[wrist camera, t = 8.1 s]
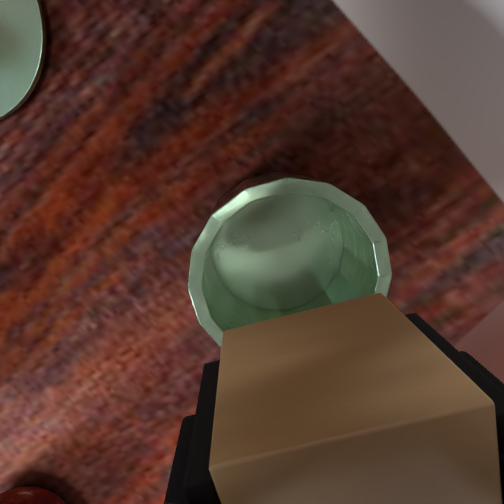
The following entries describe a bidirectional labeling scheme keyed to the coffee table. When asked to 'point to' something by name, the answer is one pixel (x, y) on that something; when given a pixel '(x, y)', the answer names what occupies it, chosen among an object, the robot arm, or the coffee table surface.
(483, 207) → the coffee table surface
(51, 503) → the fruit
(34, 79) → the lid
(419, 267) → the coffee table surface
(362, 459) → the block
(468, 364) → the robot arm
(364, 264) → the bowl
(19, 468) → the coffee table surface
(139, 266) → the coffee table surface
